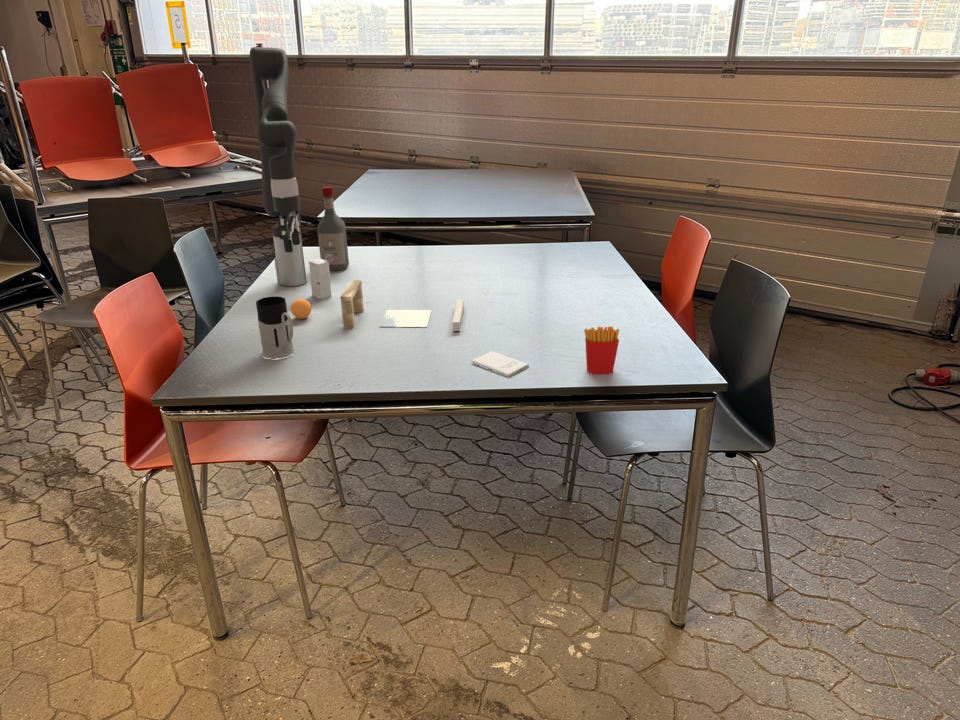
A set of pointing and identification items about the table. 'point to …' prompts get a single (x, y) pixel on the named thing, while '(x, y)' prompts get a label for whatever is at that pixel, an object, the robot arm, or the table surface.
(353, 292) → the bridge
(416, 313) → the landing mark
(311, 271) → the skincare box
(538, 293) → the table surface
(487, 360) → the external hard drive
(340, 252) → the liquor
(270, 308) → the glass holder
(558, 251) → the table surface
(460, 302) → the wall
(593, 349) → the french fries
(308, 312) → the ball
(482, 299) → the table surface
